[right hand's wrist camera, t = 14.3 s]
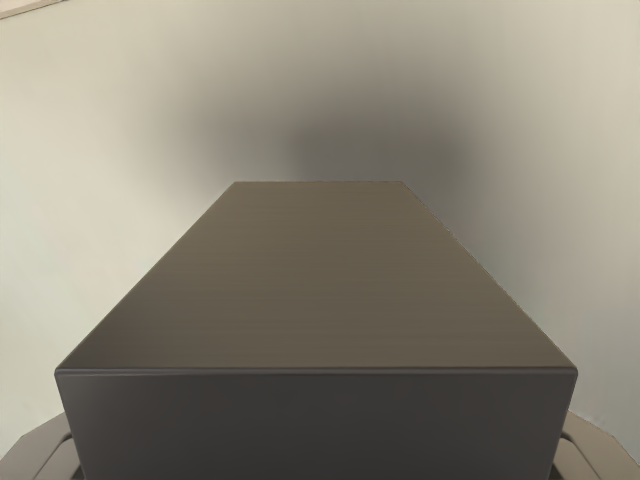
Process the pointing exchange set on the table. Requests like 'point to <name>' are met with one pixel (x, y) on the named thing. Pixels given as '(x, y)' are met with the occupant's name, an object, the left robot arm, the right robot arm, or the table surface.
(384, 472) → the bar
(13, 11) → the tablet stand
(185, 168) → the table surface
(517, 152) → the table surface
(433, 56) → the table surface
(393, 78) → the table surface
